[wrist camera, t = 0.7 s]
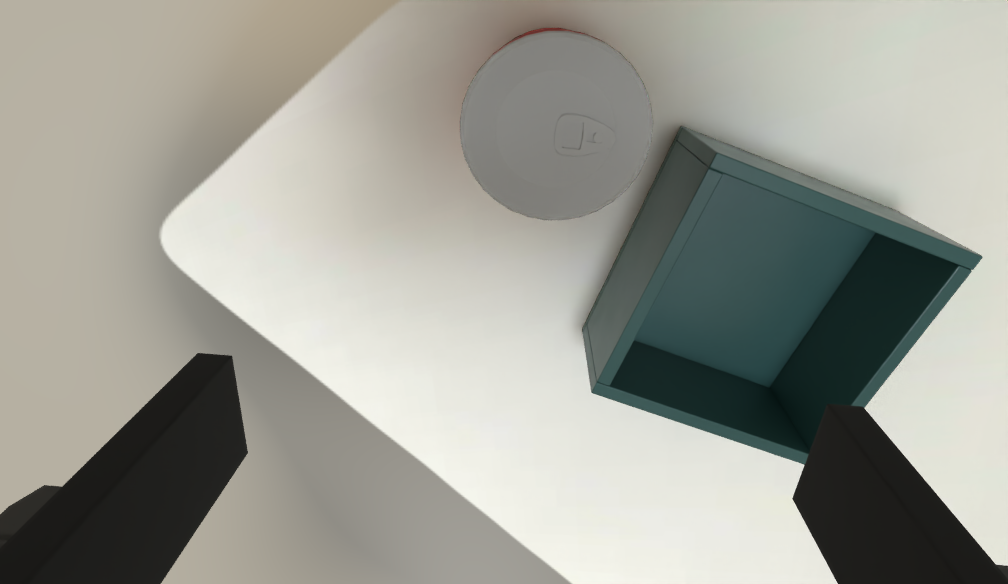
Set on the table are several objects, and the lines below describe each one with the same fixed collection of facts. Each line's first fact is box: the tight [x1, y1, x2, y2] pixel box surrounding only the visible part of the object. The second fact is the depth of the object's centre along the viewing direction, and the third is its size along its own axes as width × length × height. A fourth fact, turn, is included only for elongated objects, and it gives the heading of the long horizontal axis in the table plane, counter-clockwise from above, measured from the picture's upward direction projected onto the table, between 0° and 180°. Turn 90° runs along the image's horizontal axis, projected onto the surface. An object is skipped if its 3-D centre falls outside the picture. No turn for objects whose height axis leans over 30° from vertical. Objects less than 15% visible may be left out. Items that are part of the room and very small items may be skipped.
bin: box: [582, 126, 982, 465], centre depth 34 cm, size 15×15×8 cm
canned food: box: [460, 28, 653, 220], centre depth 29 cm, size 8×8×11 cm
